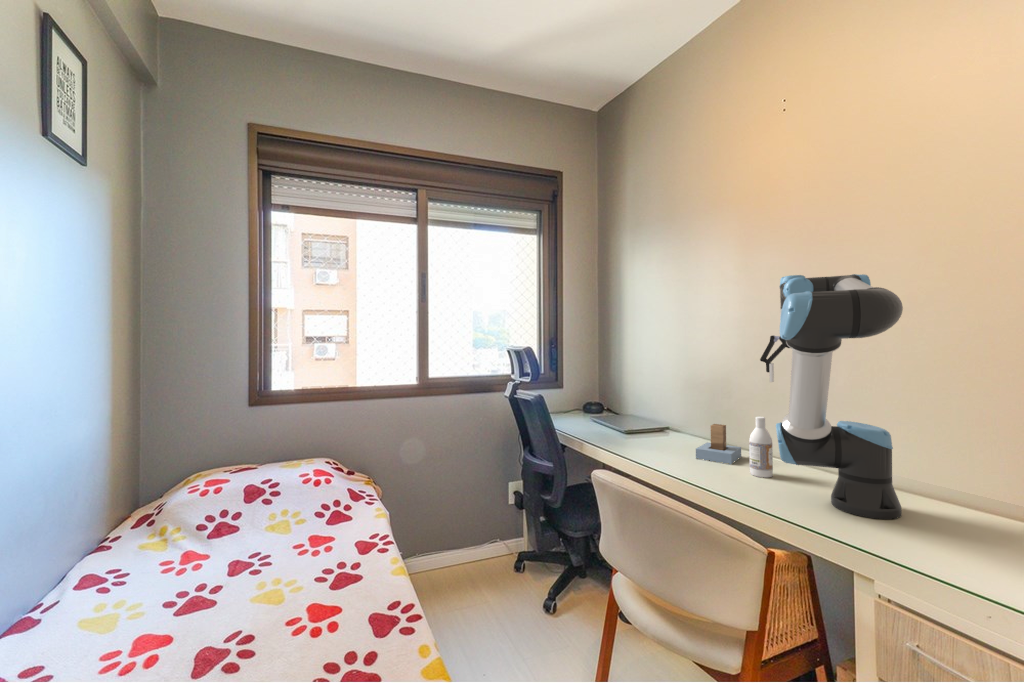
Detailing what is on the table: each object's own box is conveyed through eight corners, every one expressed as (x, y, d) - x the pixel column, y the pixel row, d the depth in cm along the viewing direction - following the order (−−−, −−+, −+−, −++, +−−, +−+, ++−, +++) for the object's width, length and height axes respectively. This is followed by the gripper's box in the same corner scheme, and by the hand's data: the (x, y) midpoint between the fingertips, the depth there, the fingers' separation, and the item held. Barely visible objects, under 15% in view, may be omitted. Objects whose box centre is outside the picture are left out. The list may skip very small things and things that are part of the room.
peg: (722, 460, 170) (722, 426, 170) (711, 458, 173) (710, 425, 173) (726, 457, 174) (725, 425, 174) (714, 456, 177) (714, 423, 177)
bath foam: (769, 479, 147) (768, 419, 147) (746, 475, 152) (745, 417, 152) (775, 474, 152) (774, 417, 152) (753, 470, 157) (752, 414, 157)
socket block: (731, 464, 164) (731, 454, 164) (695, 458, 173) (695, 448, 173) (741, 457, 174) (741, 447, 174) (707, 452, 183) (707, 442, 183)
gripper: (839, 319, 145) (840, 383, 145) (755, 322, 162) (756, 380, 162) (836, 319, 139) (837, 386, 140) (750, 322, 156) (751, 381, 156)
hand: (794, 383), depth 151 cm, fingers open, 13 cm apart
